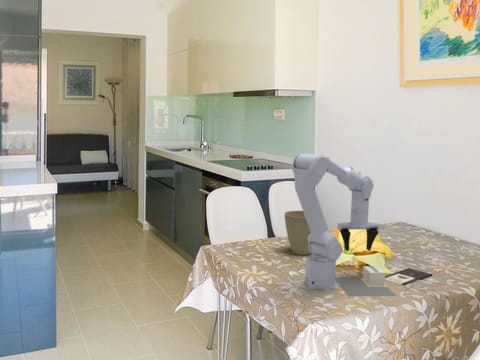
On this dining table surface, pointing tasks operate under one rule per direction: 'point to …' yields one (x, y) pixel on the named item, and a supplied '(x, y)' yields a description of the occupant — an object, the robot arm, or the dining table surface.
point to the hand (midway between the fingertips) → (357, 250)
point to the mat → (362, 288)
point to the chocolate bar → (407, 276)
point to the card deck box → (374, 276)
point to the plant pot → (297, 232)
